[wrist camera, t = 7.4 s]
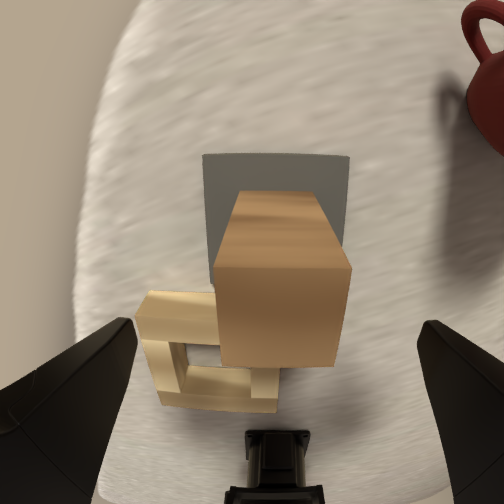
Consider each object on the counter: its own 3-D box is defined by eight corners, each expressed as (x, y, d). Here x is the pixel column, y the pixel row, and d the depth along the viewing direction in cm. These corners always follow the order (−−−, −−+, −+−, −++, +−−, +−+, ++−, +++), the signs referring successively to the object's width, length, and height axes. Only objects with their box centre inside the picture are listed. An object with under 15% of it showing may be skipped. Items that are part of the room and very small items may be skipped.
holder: (276, 384, 24) (276, 413, 21) (170, 378, 25) (161, 404, 22) (281, 294, 20) (282, 322, 18) (149, 290, 21) (134, 315, 18)
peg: (308, 257, 19) (333, 366, 10) (241, 256, 19) (221, 365, 11) (312, 191, 17) (352, 268, 9) (239, 190, 17) (213, 267, 9)
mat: (335, 281, 20) (337, 285, 19) (211, 279, 20) (210, 283, 20) (347, 156, 16) (349, 157, 16) (204, 154, 17) (202, 155, 16)
